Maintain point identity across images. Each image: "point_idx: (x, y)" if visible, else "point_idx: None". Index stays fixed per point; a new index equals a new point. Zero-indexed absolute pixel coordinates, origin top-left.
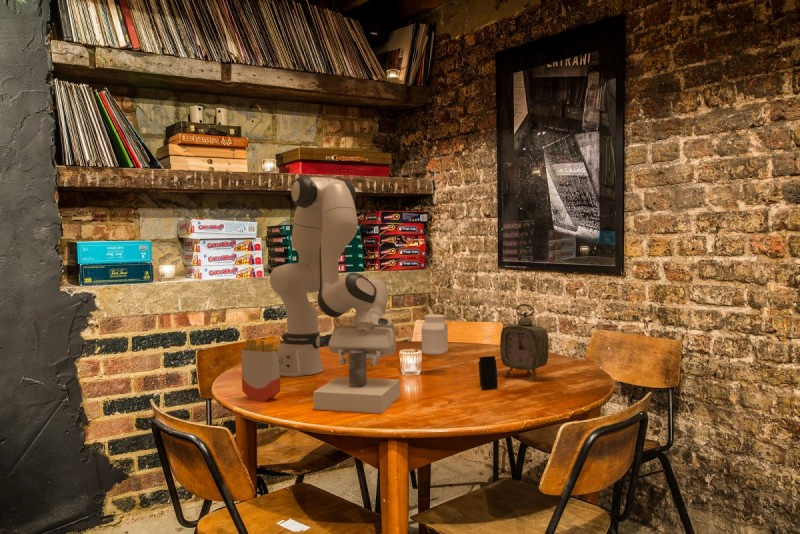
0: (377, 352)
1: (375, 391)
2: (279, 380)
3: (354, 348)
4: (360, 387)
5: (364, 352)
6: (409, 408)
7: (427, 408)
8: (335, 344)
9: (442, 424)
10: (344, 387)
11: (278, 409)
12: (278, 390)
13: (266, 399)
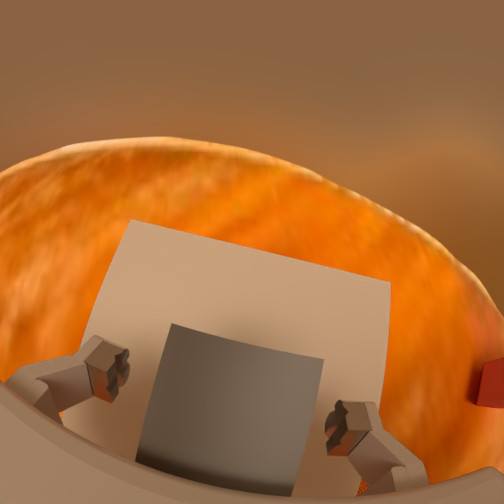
0: (35, 382)
1: (145, 279)
2: (501, 394)
3: (277, 497)
4: None
5: (149, 412)
6: (65, 299)
7: (29, 293)
8: (475, 487)
9: (49, 173)
10: None
11: (439, 299)
12: (482, 392)
13: (482, 369)
